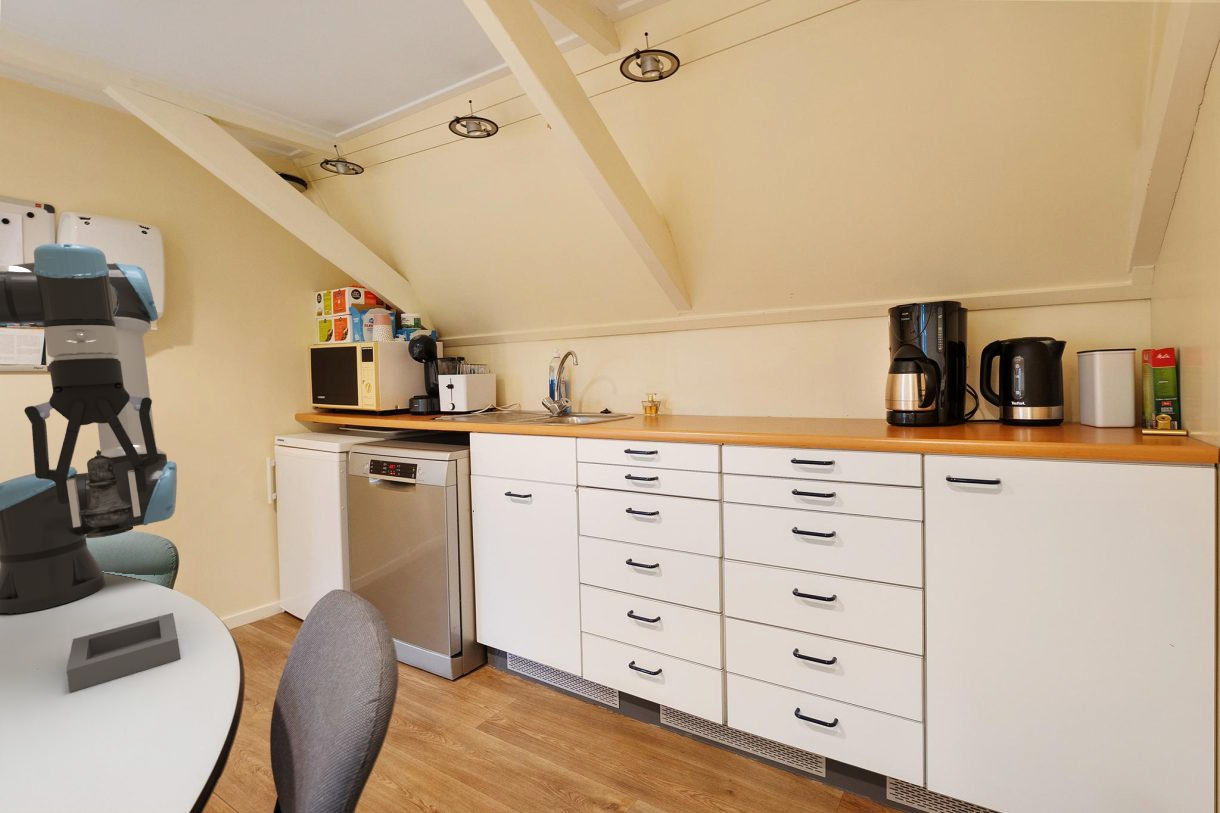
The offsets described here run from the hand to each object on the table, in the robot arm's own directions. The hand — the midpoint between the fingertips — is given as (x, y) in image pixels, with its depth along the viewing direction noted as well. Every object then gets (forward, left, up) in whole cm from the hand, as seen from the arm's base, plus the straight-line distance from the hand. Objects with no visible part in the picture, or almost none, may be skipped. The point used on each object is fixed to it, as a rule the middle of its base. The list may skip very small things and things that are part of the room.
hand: (108, 519), depth 84 cm
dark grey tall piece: (0, 0, -2) cm, 2 cm away
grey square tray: (+3, 0, -20) cm, 20 cm away
